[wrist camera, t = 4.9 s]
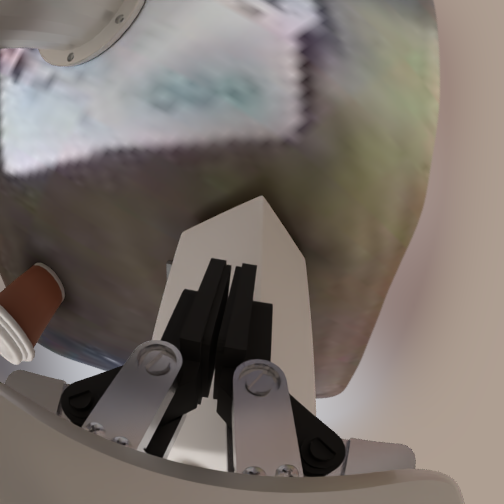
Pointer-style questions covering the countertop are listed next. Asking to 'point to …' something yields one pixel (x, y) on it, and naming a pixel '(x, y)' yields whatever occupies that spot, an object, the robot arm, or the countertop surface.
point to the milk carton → (266, 290)
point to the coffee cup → (28, 311)
